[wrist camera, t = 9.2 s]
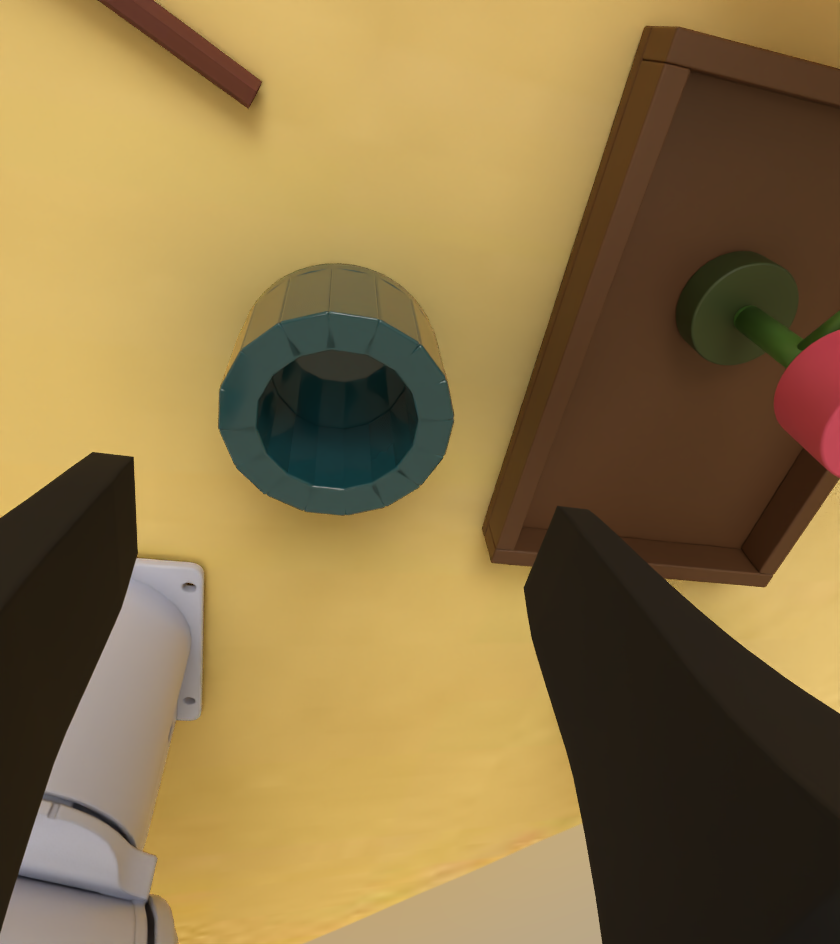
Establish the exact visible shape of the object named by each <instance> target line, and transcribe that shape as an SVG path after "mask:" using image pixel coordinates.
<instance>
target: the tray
mask: <svg viewBox="0 0 840 944" xmlns="http://www.w3.org/2000/svg"><path fill="white" fill-rule="evenodd" d="M736 251H751V252H755V253H758V254H760V255H762V256H764V257H766V258H768V259H770V260H771V261H773V262H775V263H777V264H778V265H780V266H782V267H783V268H785V269H786V270H788V272H789V273H790V274H791V275H792V276H793V278H794V279H795V282H796V284H797V288H798V293H799V302H798V309H797V313H796V315H795V318H794V320H793V322H792V325H791V326H790V328H789V329H790V330H791V331H793V332H794V333H795V334H797V335H798V336H800V337H801V338H802V339H805V338H806V337H807V336H808V335H810V334H811V333H812V332H813V331H815V330H816V329H817V328H818V327H820V326H821V325H822V324H823V323H824V322H826V321H827V320H828V319H829V318H831V317H832V316H833V315H834V314H836V313H837V312H838V311H839V310H840V69H838V68H834V67H830V66H826V65H822V64H819V63H815V62H811V61H807V60H803V59H800V58H796V57H792V56H788V55H784V54H781V53H777V52H773V51H769V50H765V49H762V48H758V47H754V46H750V45H747V44H743V43H739V42H735V41H731V40H728V39H724V38H720V37H716V36H712V35H709V34H705V33H701V32H697V31H693V30H690V29H686V28H682V27H668V26H646V27H645V28H644V31H643V34H642V37H641V40H640V44H639V47H638V50H637V53H636V56H635V59H634V62H633V65H632V68H631V71H630V74H629V77H628V80H627V84H626V87H625V90H624V93H623V96H622V99H621V102H620V105H619V108H618V111H617V114H616V117H615V121H614V124H613V127H612V130H611V133H610V136H609V139H608V142H607V145H606V148H605V151H604V154H603V157H602V161H601V164H600V167H599V170H598V173H597V176H596V179H595V182H594V185H593V188H592V191H591V194H590V198H589V201H588V204H587V207H586V210H585V213H584V216H583V219H582V222H581V225H580V228H579V231H578V234H577V238H576V241H575V244H574V247H573V250H572V253H571V256H570V259H569V262H568V265H567V268H566V271H565V275H564V278H563V281H562V284H561V287H560V290H559V293H558V296H557V299H556V302H555V305H554V308H553V312H552V315H551V318H550V321H549V324H548V327H547V330H546V333H545V336H544V339H543V342H542V345H541V348H540V352H539V355H538V358H537V361H536V364H535V367H534V370H533V373H532V376H531V379H530V382H529V385H528V389H527V392H526V395H525V398H524V401H523V404H522V407H521V410H520V413H519V416H518V419H517V422H516V425H515V429H514V432H513V435H512V438H511V441H510V444H509V447H508V450H507V453H506V456H505V459H504V462H503V466H502V469H501V472H500V475H499V478H498V481H497V484H496V487H495V490H494V493H493V496H492V499H491V502H490V506H489V509H488V512H487V515H486V518H485V521H484V524H483V527H482V530H483V534H484V536H485V540H486V544H487V548H488V552H489V556H490V560H491V562H492V563H498V564H509V565H520V566H531V567H532V566H533V564H534V562H535V559H536V557H537V554H538V552H539V549H540V547H541V544H542V542H543V539H544V537H545V535H546V532H547V530H548V527H549V525H550V522H551V520H552V517H553V515H554V513H555V510H556V508H557V506H563V507H571V508H580V509H589V510H590V511H591V512H592V513H594V514H595V515H596V516H597V517H598V518H600V519H601V520H602V521H603V522H604V523H605V524H606V525H607V526H609V527H610V528H611V529H612V530H613V531H614V532H615V533H616V534H617V535H618V536H619V537H620V538H621V539H622V540H624V541H625V542H626V543H627V544H628V545H629V546H630V547H631V548H632V549H633V550H634V551H635V552H636V553H637V554H638V555H639V556H640V557H641V558H643V559H644V560H645V561H646V562H647V563H648V564H649V565H650V566H651V567H652V568H653V569H654V570H655V571H656V572H657V573H658V574H660V575H661V576H662V577H663V578H666V579H677V580H689V581H700V582H711V583H722V584H734V585H745V586H756V587H766V586H767V584H768V583H769V581H770V580H771V578H772V577H773V574H775V572H776V571H777V570H778V568H779V567H780V565H781V564H782V562H783V561H784V559H785V558H786V556H787V555H788V553H789V552H790V550H791V549H792V548H793V546H794V545H795V543H796V542H797V540H798V539H799V537H800V536H801V534H802V533H803V531H804V530H805V529H806V527H807V526H808V524H809V523H810V521H811V520H812V518H813V517H814V515H815V514H816V512H817V511H818V510H819V508H820V507H821V505H822V504H823V502H824V501H825V499H826V498H827V496H828V495H829V493H830V492H831V491H832V489H833V488H834V486H835V485H836V483H837V482H838V480H839V479H840V478H839V477H836V476H835V475H833V474H831V473H830V472H829V471H828V470H827V469H826V468H825V467H823V466H822V465H821V464H820V463H819V462H818V461H817V460H816V459H815V458H814V457H813V456H812V455H811V454H810V453H809V452H808V451H806V450H805V449H804V448H803V447H802V446H801V445H800V444H799V443H798V442H797V441H796V440H795V439H794V438H793V437H792V436H791V435H789V434H788V433H787V432H786V431H785V430H784V429H783V428H782V427H781V425H780V424H779V423H778V421H777V419H776V416H775V412H774V395H775V391H776V388H777V385H778V383H779V381H780V378H781V376H782V375H783V373H784V372H785V370H786V368H785V367H783V366H782V365H781V364H780V363H778V362H777V361H776V360H775V359H773V358H772V357H771V356H770V355H768V354H767V353H765V354H763V355H761V356H760V357H758V358H756V359H754V360H751V361H749V362H746V363H742V364H738V365H718V364H714V363H712V362H709V361H707V360H706V359H704V358H703V357H702V356H700V355H699V354H698V353H697V352H696V351H695V350H694V349H693V348H692V347H691V346H690V345H689V344H688V343H687V342H686V341H685V340H684V339H683V338H682V336H681V335H680V333H679V330H678V328H677V323H676V308H677V304H678V300H679V297H680V295H681V293H682V291H683V289H684V287H685V285H686V284H687V282H688V281H689V280H690V278H691V277H692V276H693V275H694V274H695V273H696V272H697V271H698V270H699V269H700V268H701V267H702V266H704V265H705V264H706V263H708V262H709V261H711V260H713V259H715V258H716V257H719V256H721V255H724V254H727V253H730V252H736Z"/></svg>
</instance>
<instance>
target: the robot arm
mask: <svg viewBox="0 0 840 944" xmlns="http://www.w3.org/2000/svg"><path fill="white" fill-rule="evenodd" d="M137 554H138V549H137V526H136V503H135V480H134V457H130V456H121V455H113V454H104V453H95V452H92V453H91V454H89V455H88V456H86V457H85V458H84V459H82V460H81V461H79V462H78V463H76V464H75V465H74V466H72V467H71V468H69V469H68V470H67V471H65V472H64V473H63V474H61V475H60V476H59V477H57V478H56V479H54V480H53V481H52V482H50V483H49V484H48V485H46V486H45V487H44V488H42V489H41V490H39V491H38V492H37V493H35V494H34V495H33V496H31V497H30V498H28V499H27V500H26V501H24V502H23V503H21V504H20V505H18V506H17V507H16V508H14V509H13V510H11V511H10V512H8V513H7V514H5V515H4V516H3V517H1V518H0V944H179V942H178V937H177V933H176V930H175V926H174V919H173V915H172V911H171V908H170V906H169V904H168V903H167V901H166V900H165V899H163V898H162V897H160V896H159V895H154V894H149V893H150V889H151V885H152V880H153V876H154V872H155V867H156V863H157V859H158V858H157V857H156V856H155V855H152V854H149V853H146V852H143V848H144V846H145V843H146V839H147V836H148V831H149V827H150V823H151V819H152V815H153V811H154V807H155V803H156V799H157V795H158V791H159V787H160V783H161V779H162V775H163V771H164V767H165V763H166V759H167V755H168V751H169V747H170V743H171V739H172V735H173V731H174V727H175V723H176V720H185V721H191V720H195V719H198V718H199V717H200V715H201V711H202V682H203V623H204V570H203V568H202V567H201V566H200V565H198V564H196V563H192V562H181V561H169V560H157V559H144V558H137ZM186 583H192V584H194V585H188V584H186ZM524 593H525V600H526V607H527V614H528V620H529V625H530V631H531V637H532V641H533V644H534V648H535V651H536V654H537V658H538V661H539V664H540V668H541V671H542V674H543V678H544V681H545V684H546V687H547V691H548V694H549V697H550V700H551V703H552V707H553V710H554V713H555V716H556V719H557V723H558V726H559V729H560V732H561V735H562V739H563V742H564V745H565V748H566V752H567V755H568V759H569V763H570V767H571V770H572V774H573V778H574V783H575V788H576V793H577V798H578V803H579V808H580V813H581V818H582V823H583V828H584V833H585V838H586V844H587V850H588V855H589V861H590V867H591V873H592V878H593V884H594V890H595V896H596V903H597V909H598V916H599V923H600V930H601V937H602V944H840V714H839V713H838V712H836V711H835V710H833V709H832V708H830V707H829V706H827V705H825V704H824V703H822V702H821V701H819V700H818V699H816V698H815V697H813V696H812V695H810V694H808V693H807V692H805V691H804V690H803V689H801V688H800V687H798V686H797V685H795V684H794V683H792V682H791V681H789V680H788V679H787V678H785V677H784V676H782V675H781V674H780V673H778V672H777V671H776V670H774V669H773V668H771V667H770V666H769V665H767V664H766V663H765V662H763V661H762V660H761V659H759V658H758V657H757V656H755V655H754V654H753V653H751V652H750V651H748V650H747V649H746V648H745V647H743V646H742V645H741V644H739V643H738V642H737V641H736V640H734V639H733V638H732V637H731V636H729V635H728V634H727V633H726V632H724V631H723V630H722V629H721V628H720V627H718V626H717V625H716V624H715V623H714V622H713V621H711V620H710V619H709V618H708V617H707V616H705V615H704V614H703V613H702V612H701V611H700V610H698V609H697V608H696V607H695V606H694V605H693V604H691V603H690V602H689V601H688V600H687V599H686V598H685V597H684V596H682V595H681V594H680V593H679V592H678V591H677V590H676V589H675V588H674V587H673V586H671V585H670V584H669V583H668V582H667V581H666V580H665V579H664V578H663V577H662V576H661V575H660V574H658V573H657V572H656V571H655V570H654V569H653V568H652V567H651V566H650V565H649V564H648V563H647V562H646V561H645V560H644V559H643V558H641V557H640V556H639V555H638V554H637V553H636V552H635V551H634V550H633V549H632V548H631V547H630V546H629V545H628V544H627V543H626V542H625V541H624V540H622V539H621V538H620V537H619V536H618V535H617V534H616V533H615V532H614V531H613V530H612V529H611V528H610V527H609V526H607V525H606V524H605V523H604V522H603V521H602V520H601V519H600V518H598V517H597V516H596V515H595V514H594V513H592V512H591V511H590V510H589V509H580V508H571V507H563V506H557V508H556V510H555V513H554V515H553V517H552V520H551V522H550V525H549V527H548V530H547V532H546V535H545V537H544V539H543V542H542V544H541V547H540V549H539V552H538V554H537V557H536V559H535V562H534V564H533V566H532V569H531V571H530V574H529V576H528V579H527V581H526V584H525V586H524Z"/></svg>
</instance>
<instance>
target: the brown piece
mask: <svg viewBox="0 0 840 944" xmlns="http://www.w3.org/2000/svg"><path fill="white" fill-rule="evenodd" d="M98 1H100V2H101V3H102V4H104V5H105V6H106V7H108V8H109V9H111V10H112V11H113V12H115V13H116V14H118V15H119V16H120V17H122V18H123V19H125V20H126V21H127V22H129V23H130V24H131V25H133V26H134V27H136V28H137V29H138V30H140V31H141V32H143V33H144V34H145V35H147V36H148V37H150V38H151V39H152V40H154V41H155V42H156V43H158V44H159V45H161V46H162V47H163V48H165V49H166V50H168V51H169V52H170V53H172V54H173V55H175V56H176V57H177V58H179V59H180V60H181V61H183V62H184V63H186V64H187V65H188V66H190V67H191V68H193V69H194V70H195V71H197V72H198V73H200V74H201V75H202V76H204V77H205V78H206V79H208V80H209V81H211V82H212V83H213V84H215V85H216V86H218V87H219V88H220V89H222V90H223V91H224V92H226V93H227V94H229V95H230V96H231V97H233V98H234V99H236V100H237V101H238V102H240V103H241V104H243V105H244V106H245V107H247V108H249V107H250V105H251V103H252V101H253V99H254V98H255V96H256V94H257V92H258V90H259V88H260V86H261V83H262V81H260V80H259V79H258V78H256V77H255V76H254V75H252V74H251V73H250V72H248V71H247V70H246V69H244V68H243V67H242V66H240V65H239V64H238V63H236V62H235V61H234V60H232V59H231V58H230V57H228V56H227V55H226V54H224V53H223V52H222V51H220V50H219V49H218V48H216V47H215V46H214V45H212V44H211V43H210V42H208V41H207V40H206V39H204V38H203V37H202V36H200V35H199V34H198V33H196V32H195V31H194V30H192V29H191V28H190V27H188V26H187V25H186V24H184V23H183V22H182V21H180V20H179V19H177V18H176V17H175V16H173V15H172V14H171V13H169V12H168V11H167V10H165V9H164V8H163V7H161V6H160V5H159V4H157V3H156V2H155V1H153V0H98Z"/></svg>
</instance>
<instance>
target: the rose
mask: <svg viewBox="0 0 840 944" xmlns="http://www.w3.org/2000/svg"><path fill="white" fill-rule="evenodd" d="M798 302H799V293H798V288H797V284H796V282H795V279H794V278H793V276H792V275H791V274H790V273H789V272H788V270H786V269H785V268H783V267H782V266H780V265H778V264H777V263H775V262H773V261H771V260H770V259H768V258H766V257H764V256H762V255H760V254H758V253H755V252H751V251H736V252H730V253H727V254H724V255H721V256H719V257H716V258H715V259H713V260H711V261H709V262H708V263H706V264H705V265H704V266H702V267H701V268H700V269H699V270H698V271H697V272H696V273H695V274H694V275H693V276H692V277H691V278H690V280H689V281H688V282H687V284H686V285H685V287H684V289H683V291H682V293H681V295H680V297H679V300H678V304H677V308H676V323H677V328H678V330H679V333H680V335H681V336H682V338H683V339H684V340H685V341H686V342H687V343H688V344H689V345H690V346H691V347H692V348H693V349H694V350H695V351H696V352H697V353H698V354H699V355H700V356H702V357H703V358H704V359H706V360H707V361H709V362H712V363H714V364H718V365H738V364H742V363H746V362H749V361H751V360H754V359H756V358H758V357H760V356H761V355H763V354H765V353H767V354H768V355H770V356H771V357H772V358H773V359H775V360H776V361H777V362H778V363H780V364H781V365H782V366H783V367H785V368H786V370H785V372H784V373H783V375H782V376H781V378H780V381H779V383H778V385H777V388H776V391H775V395H774V412H775V416H776V419H777V421H778V423H779V424H780V425H781V427H782V428H783V429H784V430H785V431H786V432H787V433H788V434H789V435H791V436H792V437H793V438H794V439H795V440H796V441H797V442H798V443H799V444H800V445H801V446H802V447H803V448H804V449H805V450H806V451H808V452H809V453H810V454H811V455H812V456H813V457H814V458H815V459H816V460H817V461H818V462H819V463H820V464H821V465H822V466H823V467H825V468H826V469H827V470H828V471H829V472H830V473H831V474H833V475H835V476H836V477H839V478H840V310H839V311H838V312H837V313H836V314H834V315H833V316H832V317H831V318H829V319H828V320H827V321H826V322H824V323H823V324H822V325H821V326H820V327H818V328H817V329H816V330H815V331H813V332H812V333H811V334H810V335H808V336H807V337H806V338H805V339H802V338H801V337H800V336H798V335H797V334H795V333H794V332H793V331H791V330H790V329H789V328H790V326H791V325H792V322H793V320H794V318H795V315H796V313H797V309H798Z"/></svg>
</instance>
